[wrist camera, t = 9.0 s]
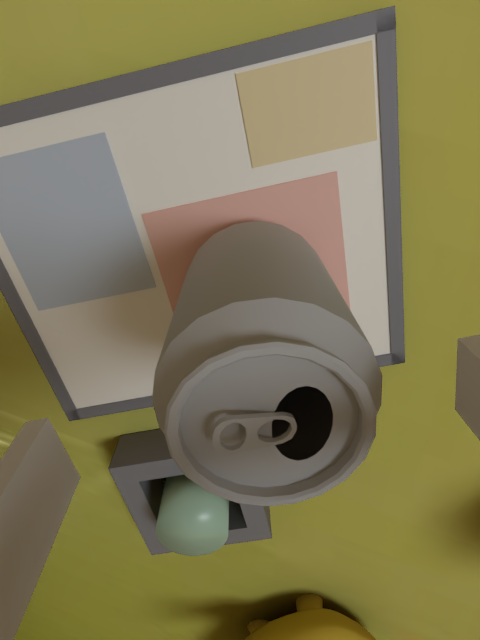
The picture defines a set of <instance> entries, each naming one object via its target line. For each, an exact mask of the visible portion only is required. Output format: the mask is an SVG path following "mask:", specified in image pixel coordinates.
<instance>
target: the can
mask: <svg viewBox="0 0 480 640" xmlns="http://www.w3.org/2000/svg"><path fill="white" fill-rule="evenodd" d="M381 395H382V373H381V371H380V368H379V365H378V363H377V360H376V358H375V355H374V352H373V350H372V347H371V345H370V343H369V342H368V340H367V338H366V336H365V335H364V333H363V331H362V330H361V328H360V326H359V324H358V323H357V321H356V319H355V318H354V316H353V314H352V312H351V311H350V309H349V307H348V306H347V304H346V302H345V300H344V299H343V297H342V295H341V294H340V292H339V290H338V288H337V287H336V285H335V283H334V282H333V280H332V278H331V276H330V275H329V273H328V271H327V270H326V268H325V266H324V264H323V263H322V261H321V259H320V258H319V256H318V254H317V252H316V251H315V250H314V249H313V248H312V247H311V246H310V245H309V243H308V242H307V241H306V240H305V239H304V238H303V237H302V236H301V235H299V234H297V233H296V232H294V231H292V230H290V229H288V228H287V227H285V226H283V225H279V224H274V223H269V222H263V221H252V222H245V223H237V224H234V225H232V226H230V227H227V228H225V229H223V230H221V231H219V232H217V233H215V234H214V235H213V236H211V237H210V238H209V239H208V240H207V241H206V242H205V243H204V244H203V245H202V246H201V247H200V248H199V249H198V250H197V252H196V254H195V256H194V258H193V260H192V262H191V264H190V266H189V268H188V271H187V274H186V277H185V280H184V283H183V286H182V289H181V292H180V295H179V298H178V302H177V305H176V308H175V311H174V314H173V317H172V320H171V323H170V326H169V329H168V332H167V335H166V339H165V342H164V345H163V348H162V351H161V354H160V357H159V360H158V363H157V366H156V369H155V375H154V385H153V394H152V403H153V406H154V410H155V413H156V417H157V420H158V424H159V427H160V429H161V430H162V432H163V433H164V434H165V438H166V441H167V445H168V448H169V452H170V456H171V457H172V459H173V460H174V461H175V463H176V464H177V465H178V467H179V468H180V469H181V471H182V472H183V473H184V474H185V476H186V477H187V478H189V479H190V480H191V481H193V482H194V483H196V484H197V485H199V486H200V487H201V488H203V489H204V490H206V491H207V492H209V493H211V494H214V495H216V496H219V497H222V498H225V499H227V500H230V501H233V502H236V503H242V504H251V505H259V506H273V505H283V504H294V503H297V502H300V501H303V500H306V499H309V498H313V497H316V496H319V495H321V494H323V493H325V492H326V491H328V490H330V489H331V488H333V487H335V486H336V485H338V484H340V483H341V482H343V481H345V480H346V479H347V478H348V477H349V476H350V475H351V474H352V473H353V472H354V471H355V470H356V468H357V467H358V466H359V465H360V464H361V463H362V462H363V461H364V460H365V458H366V456H367V454H368V452H369V449H370V447H371V445H372V443H373V440H374V438H375V436H376V415H377V413H378V411H379V408H380V406H381Z"/></svg>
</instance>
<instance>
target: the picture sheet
mask: <svg viewBox="0 0 480 640" xmlns="http://www.w3.org/2000/svg"><path fill="white" fill-rule="evenodd" d="M252 221H263V222H269V223H274V224H279V225H283V226H285V227H287V228H288V229H290V230H292V231H294V232H296V233H297V234H299V235H301V236H302V237H303V238H304V239H305V240H306V241H307V242H308V243H309V245H310V246H311V247H312V248H313V249H314V250H315V251H316V252H317V254H318V256H319V258H320V259H321V261H322V263H323V264H324V266H325V268H326V270H327V271H328V273H329V275H330V276H331V278H332V280H333V282H334V283H335V285H336V287H337V288H338V290H339V292H340V294H341V295H342V297H343V299H344V300H345V302H346V304H347V306H348V307H349V309H350V311H351V312H352V314H353V316H354V318H355V319H356V321H357V323H358V324H359V326H360V328H361V330H362V331H363V333H364V335H365V336H366V338H367V340H368V342H369V343H370V345H371V347H372V350H373V352H374V355H375V358H376V360H377V363H378V365H379V367H382V366H388V365H394V364H399V363H405V345H404V309H403V273H402V237H401V201H400V165H399V129H398V93H397V57H396V21H395V6H392V7H388V8H384V9H380V10H376V11H372V12H368V13H364V14H360V15H356V16H352V17H348V18H344V19H340V20H336V21H333V22H329V23H325V24H321V25H317V26H313V27H309V28H305V29H301V30H297V31H293V32H289V33H285V34H281V35H277V36H273V37H270V38H266V39H262V40H258V41H254V42H250V43H246V44H242V45H238V46H234V47H230V48H226V49H222V50H218V51H214V52H210V53H207V54H203V55H199V56H195V57H191V58H187V59H183V60H179V61H175V62H171V63H167V64H163V65H159V66H155V67H151V68H147V69H144V70H140V71H136V72H132V73H128V74H124V75H120V76H116V77H112V78H108V79H104V80H100V81H96V82H92V83H88V84H84V85H81V86H77V87H73V88H69V89H65V90H61V91H57V92H53V93H49V94H45V95H41V96H37V97H33V98H29V99H25V100H21V101H18V102H14V103H10V104H6V105H2V106H0V290H1V292H2V293H3V295H4V297H5V299H6V301H7V303H8V305H9V307H10V309H11V311H12V312H13V314H14V316H15V318H16V320H17V322H18V324H19V326H20V328H21V330H22V332H23V333H24V335H25V337H26V339H27V341H28V343H29V345H30V347H31V349H32V351H33V353H34V354H35V356H36V358H37V360H38V362H39V364H40V366H41V368H42V370H43V372H44V374H45V375H46V377H47V379H48V381H49V383H50V385H51V387H52V389H53V391H54V393H55V395H56V396H57V398H58V400H59V402H60V404H61V406H62V408H63V410H64V412H65V414H66V415H67V417H68V419H69V421H73V420H78V419H84V418H90V417H96V416H101V415H107V414H113V413H119V412H124V411H130V410H136V409H142V408H147V407H153V403H152V394H153V385H154V375H155V369H156V366H157V363H158V360H159V357H160V354H161V351H162V348H163V345H164V342H165V339H166V335H167V332H168V329H169V326H170V323H171V320H172V317H173V314H174V311H175V308H176V305H177V302H178V298H179V295H180V292H181V289H182V286H183V283H184V280H185V277H186V274H187V271H188V268H189V266H190V264H191V262H192V260H193V258H194V256H195V254H196V252H197V250H198V249H199V248H200V247H201V246H202V245H203V244H204V243H205V242H206V241H207V240H208V239H209V238H210V237H211V236H213V235H214V234H215V233H217V232H219V231H221V230H223V229H225V228H227V227H230V226H232V225H234V224H237V223H245V222H252Z"/></svg>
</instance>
